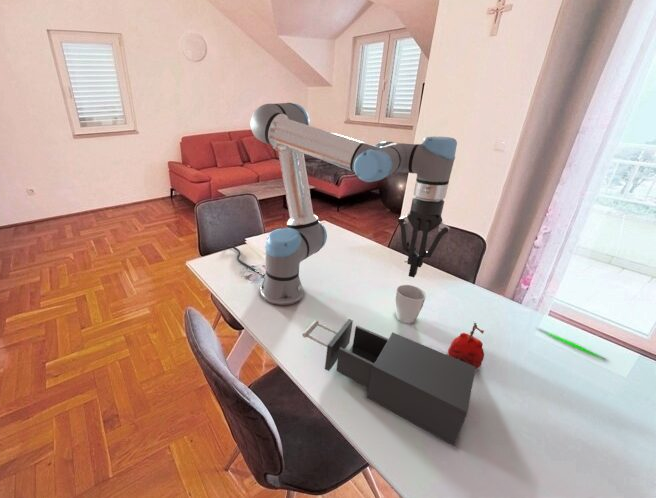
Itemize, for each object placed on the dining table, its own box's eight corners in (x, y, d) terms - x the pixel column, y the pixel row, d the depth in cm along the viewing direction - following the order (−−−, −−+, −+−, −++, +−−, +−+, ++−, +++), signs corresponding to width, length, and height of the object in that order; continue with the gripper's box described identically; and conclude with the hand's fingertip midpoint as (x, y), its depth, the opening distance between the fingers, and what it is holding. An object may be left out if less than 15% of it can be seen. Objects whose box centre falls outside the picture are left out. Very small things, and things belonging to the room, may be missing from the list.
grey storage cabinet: (366, 397, 74) (373, 366, 70) (386, 361, 84) (392, 332, 80) (454, 446, 63) (467, 412, 59) (464, 398, 73) (476, 366, 69)
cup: (422, 328, 96) (429, 301, 92) (394, 324, 97) (400, 298, 93) (415, 311, 103) (421, 286, 99) (389, 308, 104) (394, 283, 100)
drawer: (295, 353, 85) (297, 329, 82) (318, 328, 94) (320, 306, 91) (391, 405, 71) (398, 379, 67) (407, 370, 80) (413, 346, 77)
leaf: (606, 361, 84) (607, 359, 83) (540, 332, 94) (541, 329, 94) (606, 360, 84) (608, 358, 84) (541, 330, 95) (542, 328, 94)
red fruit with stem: (482, 364, 83) (500, 319, 77) (474, 379, 78) (492, 332, 72) (451, 348, 88) (465, 304, 82) (441, 361, 84) (455, 316, 78)
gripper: (398, 196, 84) (385, 272, 93) (453, 205, 76) (433, 288, 85) (407, 190, 89) (394, 263, 99) (459, 198, 82) (440, 276, 91)
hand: (412, 274), depth 92 cm, fingers closed
